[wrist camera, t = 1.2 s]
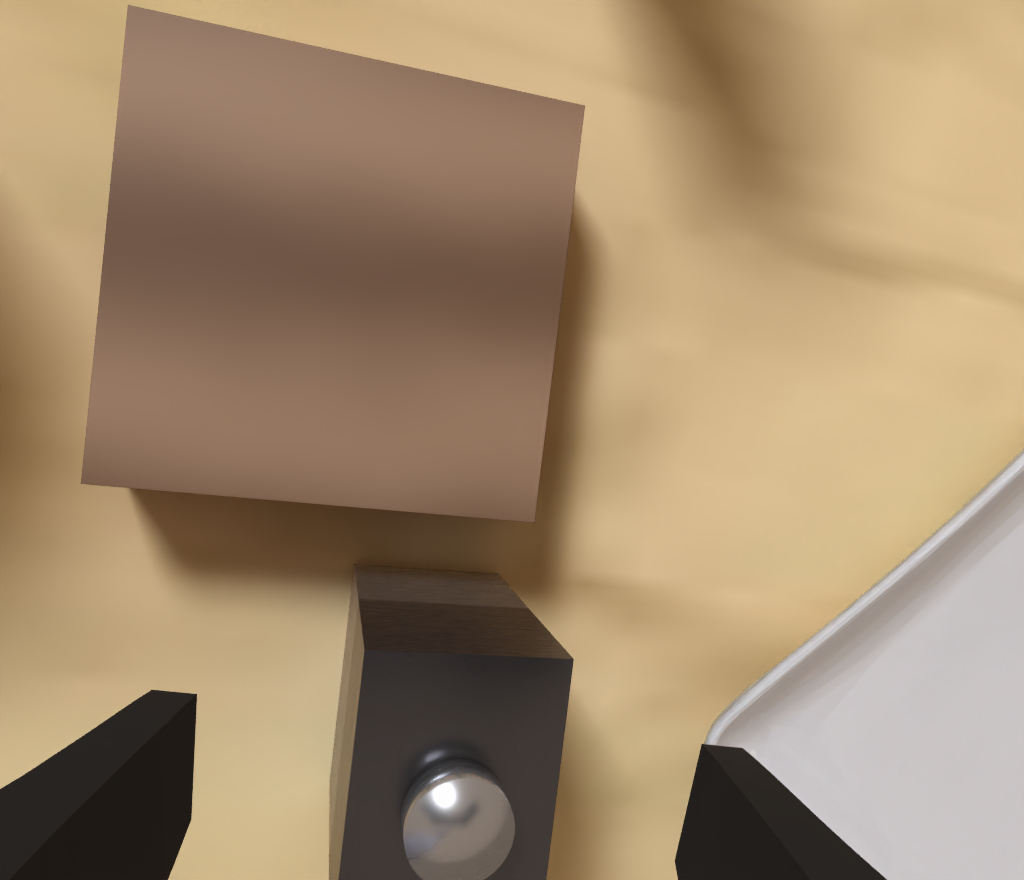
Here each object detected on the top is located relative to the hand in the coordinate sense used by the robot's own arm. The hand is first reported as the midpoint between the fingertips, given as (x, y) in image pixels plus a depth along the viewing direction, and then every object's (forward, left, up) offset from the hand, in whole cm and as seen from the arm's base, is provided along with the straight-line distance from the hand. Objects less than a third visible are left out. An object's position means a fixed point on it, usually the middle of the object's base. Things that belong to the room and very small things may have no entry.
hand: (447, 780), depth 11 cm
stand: (+8, +2, -10) cm, 13 cm away
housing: (-2, -1, -10) cm, 11 cm away
